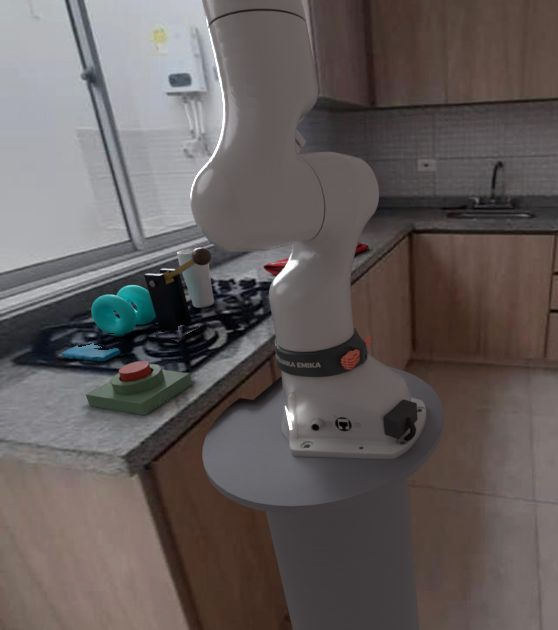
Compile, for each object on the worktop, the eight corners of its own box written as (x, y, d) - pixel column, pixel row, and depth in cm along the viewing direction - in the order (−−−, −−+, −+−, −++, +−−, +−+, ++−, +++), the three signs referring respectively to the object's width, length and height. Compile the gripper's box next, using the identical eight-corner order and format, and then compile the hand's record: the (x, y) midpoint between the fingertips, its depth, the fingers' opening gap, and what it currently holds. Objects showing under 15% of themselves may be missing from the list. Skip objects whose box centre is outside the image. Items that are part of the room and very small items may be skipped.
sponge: (92, 362, 87) (120, 347, 91) (58, 353, 92) (87, 339, 96) (95, 368, 87) (123, 353, 92) (61, 359, 92) (90, 345, 97)
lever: (218, 258, 92) (208, 243, 91) (205, 263, 88) (195, 247, 88) (171, 287, 98) (161, 272, 98) (157, 292, 95) (148, 277, 94)
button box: (192, 383, 78) (187, 363, 77) (145, 415, 70) (137, 393, 68) (141, 376, 82) (135, 357, 81) (89, 406, 73) (81, 384, 72)
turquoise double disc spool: (96, 338, 101) (82, 297, 97) (128, 321, 110) (116, 283, 106) (135, 338, 99) (122, 297, 96) (165, 321, 109) (154, 283, 105)
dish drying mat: (369, 249, 173) (369, 240, 172) (300, 278, 139) (298, 267, 138) (337, 247, 180) (336, 238, 178) (263, 274, 146) (261, 263, 144)
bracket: (206, 328, 103) (192, 267, 98) (176, 344, 95) (158, 278, 90) (179, 325, 106) (163, 265, 100) (148, 341, 98) (129, 277, 92)
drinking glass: (213, 308, 116) (200, 252, 111) (186, 310, 116) (172, 254, 110) (220, 300, 123) (208, 247, 117) (195, 302, 122) (182, 248, 116)
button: (157, 371, 76) (155, 362, 75) (135, 384, 72) (132, 374, 71) (138, 368, 77) (135, 359, 76) (115, 381, 73) (112, 371, 73)
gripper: (232, 125, 103) (203, 173, 98) (293, 119, 92) (263, 172, 88) (251, 145, 108) (224, 191, 104) (311, 141, 97) (284, 192, 93)
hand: (243, 182), depth 96 cm, fingers closed
